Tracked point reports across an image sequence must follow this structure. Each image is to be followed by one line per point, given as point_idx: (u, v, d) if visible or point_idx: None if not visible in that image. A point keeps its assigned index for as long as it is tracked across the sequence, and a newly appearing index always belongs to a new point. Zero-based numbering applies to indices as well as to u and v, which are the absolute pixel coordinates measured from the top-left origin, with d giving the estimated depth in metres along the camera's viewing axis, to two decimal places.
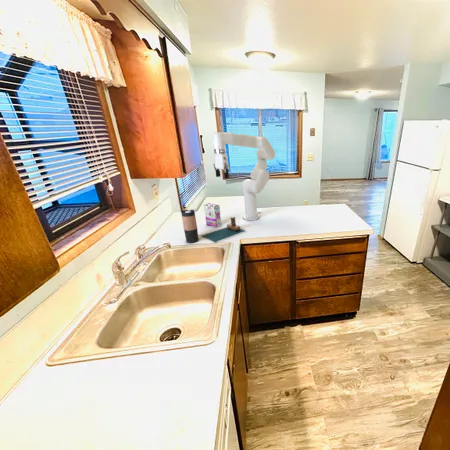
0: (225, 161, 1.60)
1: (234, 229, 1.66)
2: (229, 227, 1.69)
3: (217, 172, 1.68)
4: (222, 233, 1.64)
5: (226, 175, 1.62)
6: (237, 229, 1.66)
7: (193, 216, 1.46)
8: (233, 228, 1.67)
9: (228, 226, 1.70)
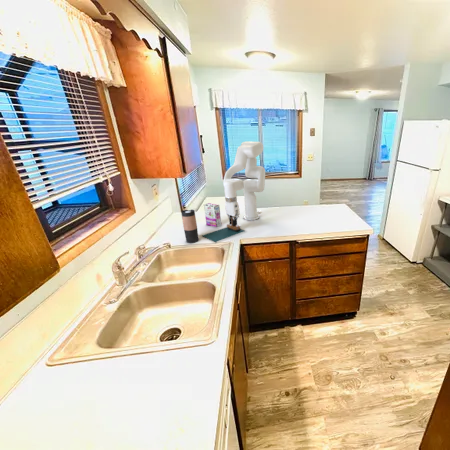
0: (236, 208, 1.62)
1: (234, 229, 1.66)
2: (229, 227, 1.69)
3: None
4: (222, 233, 1.64)
5: (235, 222, 1.66)
6: (237, 229, 1.66)
7: (193, 216, 1.46)
8: (233, 228, 1.67)
9: (228, 226, 1.70)
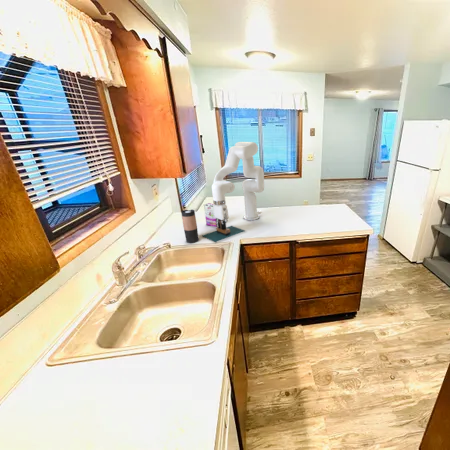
0: (225, 212, 1.55)
1: (224, 233, 1.60)
2: (218, 231, 1.63)
3: (219, 224, 1.61)
4: None
5: (223, 226, 1.59)
6: (227, 232, 1.60)
7: (193, 216, 1.46)
8: (223, 232, 1.60)
9: (217, 230, 1.63)
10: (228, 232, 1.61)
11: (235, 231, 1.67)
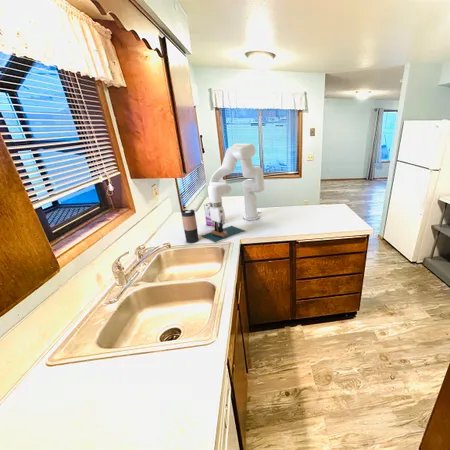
0: (221, 214, 1.50)
1: (221, 235, 1.55)
2: (215, 234, 1.57)
3: None
4: None
5: (220, 229, 1.54)
6: (224, 235, 1.55)
7: (193, 216, 1.46)
8: (219, 234, 1.55)
9: (213, 233, 1.58)
10: (225, 235, 1.56)
11: (235, 231, 1.67)
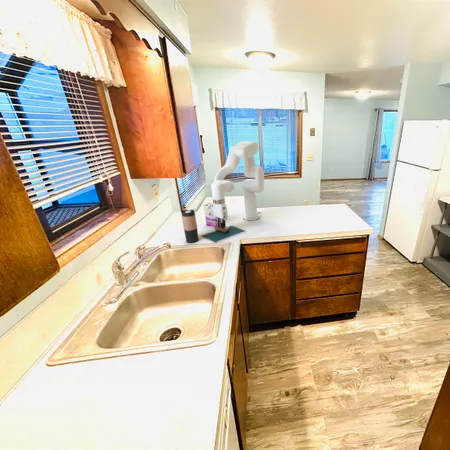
0: (224, 211, 1.58)
1: (223, 231, 1.63)
2: (217, 229, 1.65)
3: None
4: (222, 233, 1.64)
5: (223, 225, 1.62)
6: (226, 231, 1.63)
7: (193, 216, 1.46)
8: (222, 230, 1.63)
9: (216, 228, 1.66)
10: (227, 230, 1.64)
11: (235, 231, 1.67)
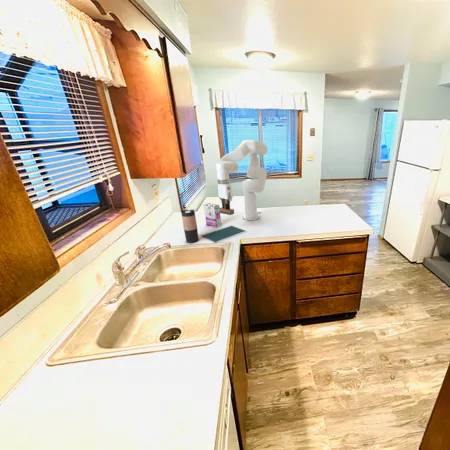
0: (229, 191, 1.57)
1: (228, 212, 1.62)
2: (222, 211, 1.64)
3: (223, 203, 1.63)
4: (222, 233, 1.64)
5: (227, 206, 1.61)
6: (231, 212, 1.62)
7: (193, 216, 1.46)
8: (227, 211, 1.62)
9: (221, 210, 1.64)
10: (232, 212, 1.63)
11: (235, 231, 1.67)
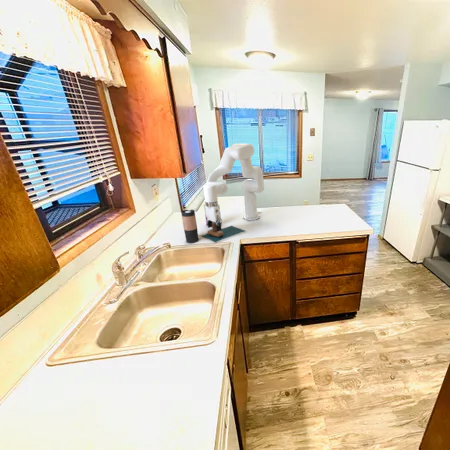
0: (217, 214, 1.51)
1: (216, 235, 1.55)
2: (210, 233, 1.58)
3: (209, 223, 1.58)
4: None
5: (218, 228, 1.53)
6: (220, 235, 1.56)
7: (193, 216, 1.46)
8: (215, 234, 1.56)
9: (209, 232, 1.58)
10: (221, 235, 1.57)
11: (235, 231, 1.67)
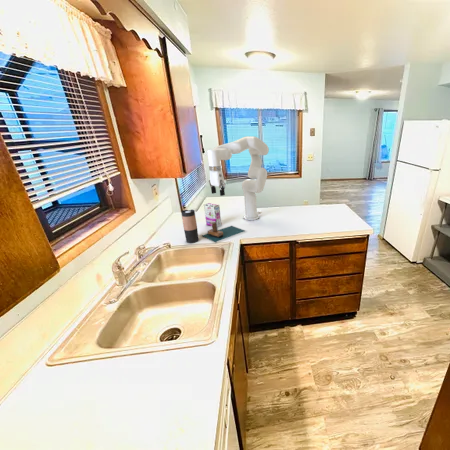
0: (221, 178, 1.55)
1: (216, 235, 1.55)
2: (210, 233, 1.58)
3: (213, 189, 1.63)
4: None
5: (222, 192, 1.57)
6: (220, 235, 1.56)
7: (193, 216, 1.46)
8: (215, 234, 1.56)
9: (209, 232, 1.58)
10: (221, 235, 1.57)
11: (235, 231, 1.67)
